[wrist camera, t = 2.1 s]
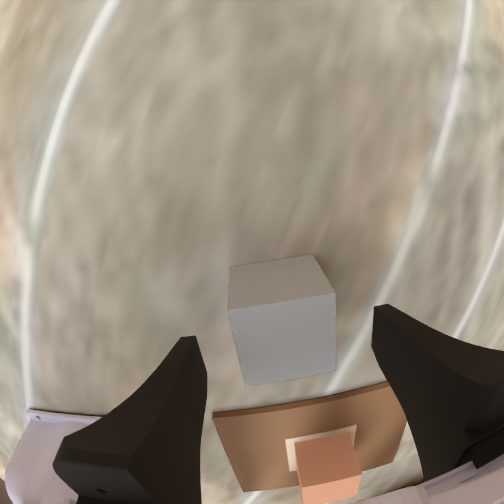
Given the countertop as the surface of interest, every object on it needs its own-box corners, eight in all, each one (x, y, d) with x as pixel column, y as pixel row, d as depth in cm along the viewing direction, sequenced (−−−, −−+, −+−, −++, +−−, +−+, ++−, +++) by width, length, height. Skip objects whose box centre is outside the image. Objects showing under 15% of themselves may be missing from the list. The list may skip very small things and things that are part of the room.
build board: (243, 487, 23) (243, 492, 22) (212, 412, 19) (212, 419, 18) (390, 458, 23) (392, 462, 22) (416, 372, 18) (419, 377, 18)
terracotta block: (296, 467, 21) (303, 507, 17) (294, 442, 19) (302, 487, 16) (344, 457, 21) (356, 495, 17) (348, 431, 19) (362, 474, 16)
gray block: (242, 334, 17) (245, 386, 13) (229, 266, 15) (227, 309, 11) (316, 322, 17) (336, 371, 13) (312, 253, 15) (335, 292, 11)
